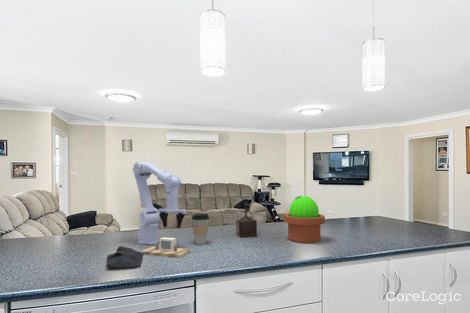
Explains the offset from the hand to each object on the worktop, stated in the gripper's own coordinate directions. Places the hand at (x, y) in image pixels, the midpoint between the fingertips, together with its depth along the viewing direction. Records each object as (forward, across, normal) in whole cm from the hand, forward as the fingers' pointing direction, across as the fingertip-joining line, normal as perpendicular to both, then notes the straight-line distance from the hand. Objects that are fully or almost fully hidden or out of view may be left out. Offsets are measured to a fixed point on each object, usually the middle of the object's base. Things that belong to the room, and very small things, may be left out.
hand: (171, 227), depth 146 cm
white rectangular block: (+9, +3, -9) cm, 13 cm away
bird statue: (+10, +28, +40) cm, 50 cm away
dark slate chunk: (+11, -9, -26) cm, 29 cm away
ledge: (+10, +2, -9) cm, 14 cm away
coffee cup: (+10, +10, +13) cm, 19 cm away
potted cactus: (+10, +63, +37) cm, 74 cm away
